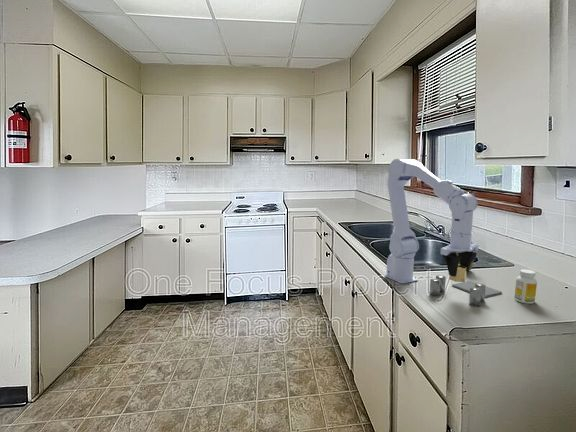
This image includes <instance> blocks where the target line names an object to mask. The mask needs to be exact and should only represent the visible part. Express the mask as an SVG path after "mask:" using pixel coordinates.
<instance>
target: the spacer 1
mask: <svg viewBox="0 0 576 432" xmlns="http://www.w3.org/2000/svg"><path fill="white" fill-rule="evenodd" d="M429 283H430V284H429V296H431V297H436V298H437V297H440V293H441V292H440V280H439V279H436V278H430V281H429Z"/></svg>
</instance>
